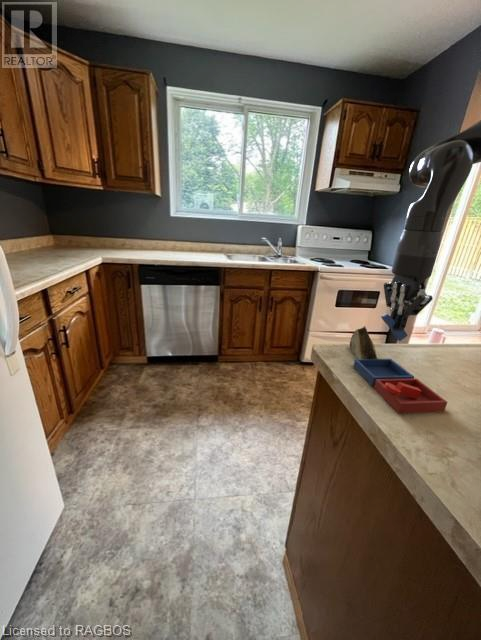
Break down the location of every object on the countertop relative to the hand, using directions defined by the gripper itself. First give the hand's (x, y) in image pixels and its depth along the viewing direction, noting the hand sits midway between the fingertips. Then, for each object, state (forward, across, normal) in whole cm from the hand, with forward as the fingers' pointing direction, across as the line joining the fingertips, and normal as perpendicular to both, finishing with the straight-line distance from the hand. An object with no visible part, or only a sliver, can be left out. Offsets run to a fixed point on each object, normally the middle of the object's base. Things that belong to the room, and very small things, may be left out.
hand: (395, 328), depth 64 cm
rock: (+13, +10, 0) cm, 16 cm away
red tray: (+13, -9, 0) cm, 16 cm away
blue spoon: (0, 0, +1) cm, 1 cm away
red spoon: (+11, -10, +3) cm, 15 cm away
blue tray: (+13, 0, 0) cm, 13 cm away
